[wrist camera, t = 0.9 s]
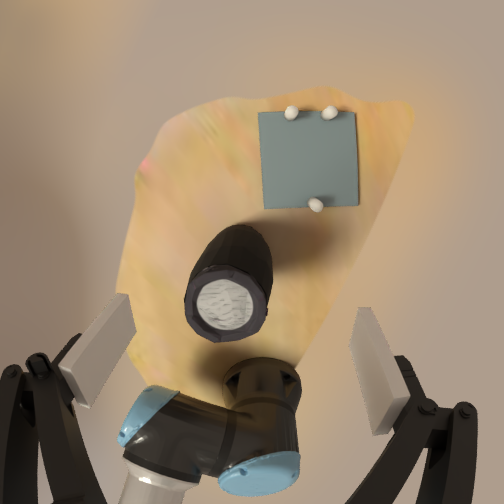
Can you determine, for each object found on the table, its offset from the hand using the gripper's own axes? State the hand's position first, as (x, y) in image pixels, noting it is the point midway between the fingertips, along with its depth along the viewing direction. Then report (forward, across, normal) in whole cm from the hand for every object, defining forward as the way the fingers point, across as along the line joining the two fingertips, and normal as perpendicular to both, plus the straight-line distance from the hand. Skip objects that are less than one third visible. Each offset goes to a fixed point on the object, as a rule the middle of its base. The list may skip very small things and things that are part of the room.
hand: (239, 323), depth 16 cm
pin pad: (+30, -7, -7) cm, 31 cm away
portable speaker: (+28, +3, +7) cm, 29 cm away
